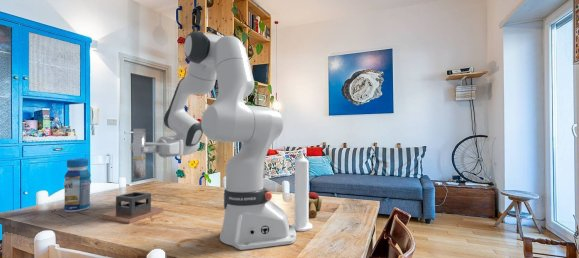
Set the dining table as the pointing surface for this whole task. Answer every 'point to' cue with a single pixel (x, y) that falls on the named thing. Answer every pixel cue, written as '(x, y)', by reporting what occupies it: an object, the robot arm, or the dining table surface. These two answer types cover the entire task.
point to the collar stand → (132, 208)
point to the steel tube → (139, 153)
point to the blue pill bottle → (77, 185)
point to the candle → (301, 194)
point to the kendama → (314, 204)
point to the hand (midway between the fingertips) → (137, 149)
